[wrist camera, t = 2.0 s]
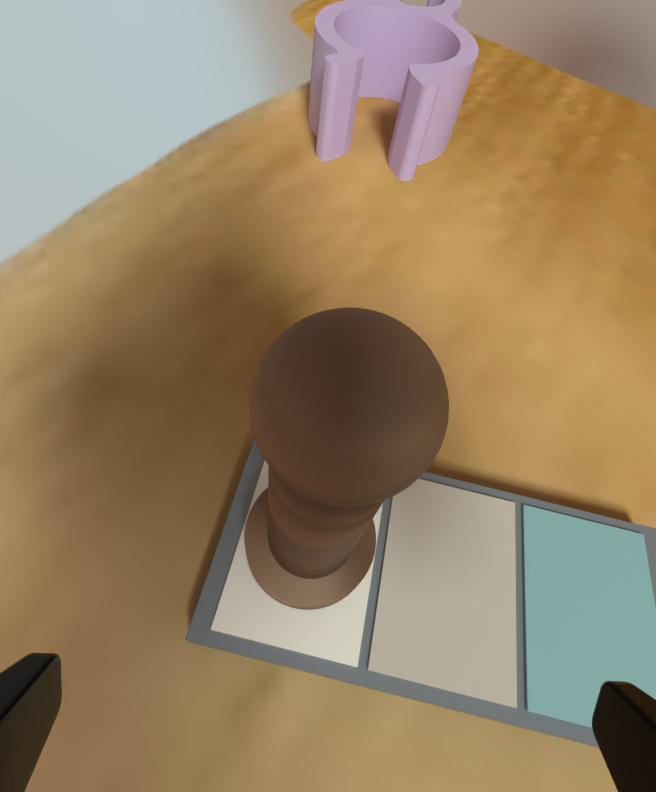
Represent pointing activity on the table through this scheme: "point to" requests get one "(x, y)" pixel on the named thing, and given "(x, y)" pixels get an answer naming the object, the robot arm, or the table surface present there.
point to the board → (459, 605)
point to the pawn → (337, 447)
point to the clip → (390, 75)
